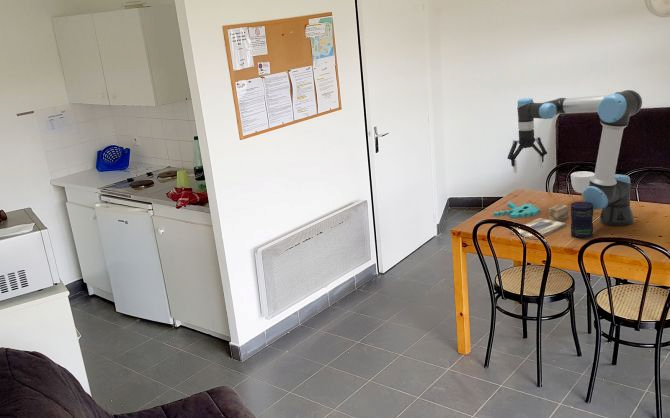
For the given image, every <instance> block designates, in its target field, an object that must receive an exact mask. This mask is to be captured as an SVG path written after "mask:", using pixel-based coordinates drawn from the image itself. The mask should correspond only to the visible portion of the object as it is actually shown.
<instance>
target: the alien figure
mask: <svg viewBox="0 0 670 418" xmlns="http://www.w3.org/2000/svg"><path fill="white" fill-rule="evenodd" d="M506 206H507V207H508V208H509V209H511V210H509V209H506V210H500V211H494V212H493V217H497V216H498V217H499V216H505V215H506V216H508V215H509V219H510V218H511V219H517V218H518V219H520V218H521V217H522V219H523V218H527V217H528V218H529V217H536V216H537V215H539V214H540V213H541V208H538V207H536V206H535V205H533V204H532V203H523V204H522V205H520V206H518V205H516V204H515V203H514V202H507V204H506Z"/></svg>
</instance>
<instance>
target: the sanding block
mask: <svg viewBox="0 0 670 418" xmlns="http://www.w3.org/2000/svg"><path fill="white" fill-rule="evenodd" d="M568 218H569V205H566V204H561V203H558V204H556V205H554V206H552V207H549V208H548V220H552V221H557V222H562V221H564V220H566V219H568Z"/></svg>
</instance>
